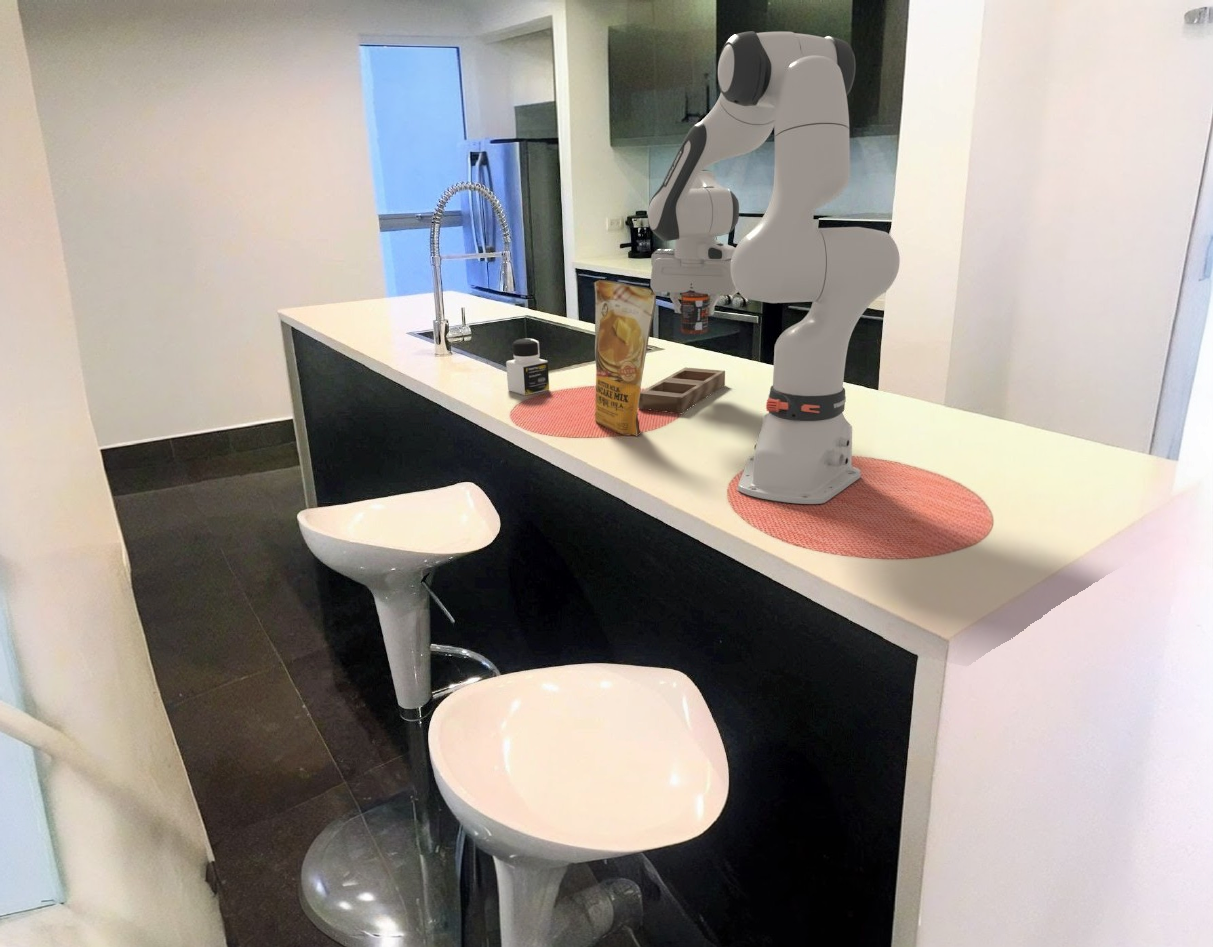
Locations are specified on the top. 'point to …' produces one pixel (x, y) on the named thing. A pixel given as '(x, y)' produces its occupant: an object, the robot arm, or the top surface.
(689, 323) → the supplement bottle
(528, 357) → the medicine bottle
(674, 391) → the rail
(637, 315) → the pancake mix bag
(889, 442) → the top surface
